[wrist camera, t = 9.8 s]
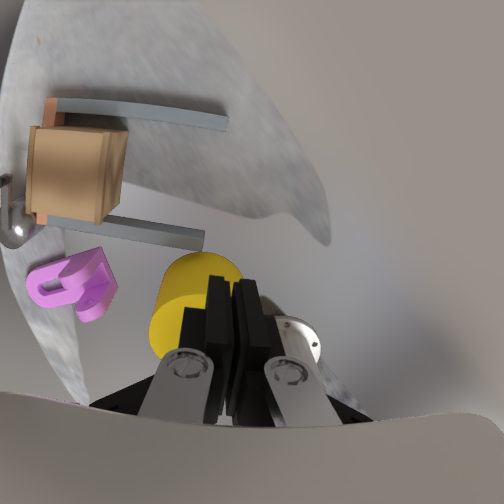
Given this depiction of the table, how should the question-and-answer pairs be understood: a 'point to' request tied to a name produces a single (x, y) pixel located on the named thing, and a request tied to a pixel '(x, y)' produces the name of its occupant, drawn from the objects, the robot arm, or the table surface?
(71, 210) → the block
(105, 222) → the bay
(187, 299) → the yellow roll
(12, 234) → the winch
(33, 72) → the table surface
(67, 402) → the robot arm
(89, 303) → the bracket
